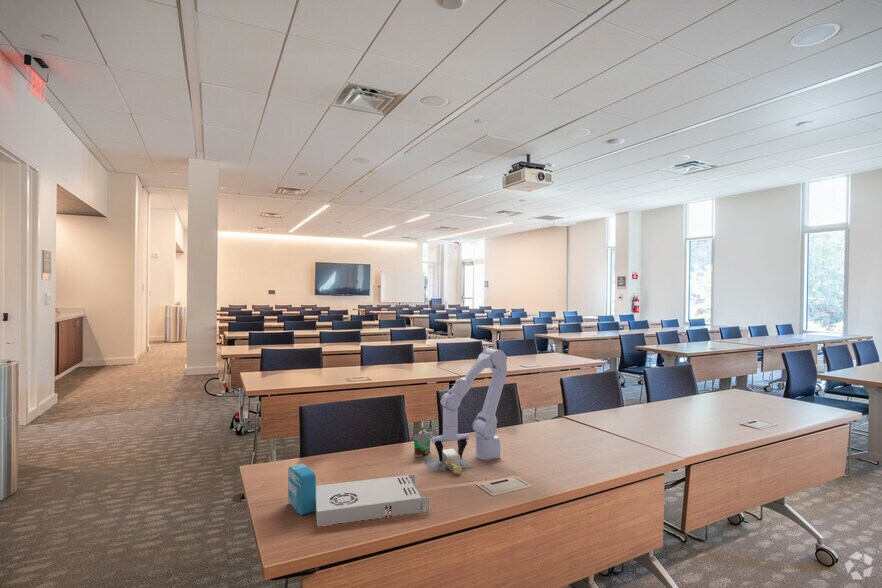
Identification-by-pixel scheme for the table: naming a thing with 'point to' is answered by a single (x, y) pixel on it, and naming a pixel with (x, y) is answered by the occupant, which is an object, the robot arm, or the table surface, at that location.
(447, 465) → the brass T-key
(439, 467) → the base plate
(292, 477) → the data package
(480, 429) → the robot arm
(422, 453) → the food container
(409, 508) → the power supply unit
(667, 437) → the table surface
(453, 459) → the white rectangular block
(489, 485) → the table surface
